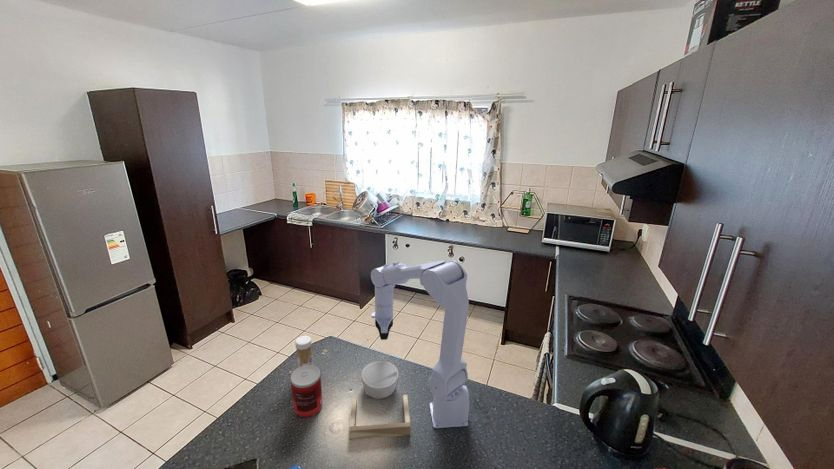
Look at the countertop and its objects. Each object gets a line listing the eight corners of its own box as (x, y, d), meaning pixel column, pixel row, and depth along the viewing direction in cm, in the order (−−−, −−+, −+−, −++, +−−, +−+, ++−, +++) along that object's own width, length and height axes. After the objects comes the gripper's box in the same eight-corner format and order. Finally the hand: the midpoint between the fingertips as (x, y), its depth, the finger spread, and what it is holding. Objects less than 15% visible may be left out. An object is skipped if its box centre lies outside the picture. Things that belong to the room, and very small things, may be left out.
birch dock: (352, 406, 90) (352, 398, 89) (407, 402, 92) (407, 394, 91) (349, 439, 81) (349, 430, 80) (410, 435, 83) (410, 426, 82)
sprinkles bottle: (310, 381, 99) (307, 345, 94) (296, 380, 99) (292, 344, 95) (316, 370, 103) (313, 335, 99) (302, 369, 103) (298, 334, 99)
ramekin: (388, 407, 91) (388, 392, 89) (354, 395, 94) (353, 380, 93) (404, 380, 100) (404, 366, 99) (372, 370, 104) (372, 356, 103)
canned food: (312, 391, 95) (309, 360, 92) (328, 405, 90) (326, 374, 87) (288, 407, 89) (284, 375, 86) (304, 423, 85) (300, 390, 81)
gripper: (371, 290, 107) (372, 325, 111) (370, 315, 93) (371, 353, 97) (393, 290, 107) (392, 325, 112) (394, 314, 94) (394, 352, 98)
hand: (384, 338), depth 105 cm, fingers closed
